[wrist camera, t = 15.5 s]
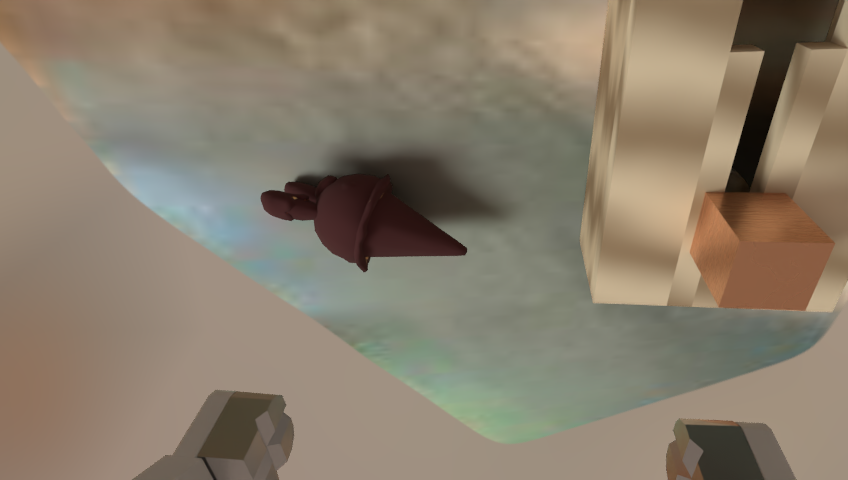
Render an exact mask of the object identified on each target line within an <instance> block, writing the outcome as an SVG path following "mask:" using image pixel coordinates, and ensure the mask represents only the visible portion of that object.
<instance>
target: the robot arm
mask: <svg viewBox="0 0 848 480" xmlns="http://www.w3.org/2000/svg"><path fill="white" fill-rule="evenodd" d="M285 407H286V404H285V401H284V399H283V396H282V395H273V394H261V393H249V392H238V391H224V390H215V391H214V392H213V393H211V394H210V395H209V396H208V398H207V399H206V401H205V403H204V404H203V406H202V407H201V409H200V411H199V412H198V414H197V416H196V417H195V419H194V420H193V422H192V424H191V426H190V427H189V429H188V430H187V432H186V434H185V435H184V437H183V439H182V440H181V442H180V443H179V445H178V447H177V448H176V450H175V452H174V453H173V455H165V456H164V457H163V458H161V459H160V460H158V461H157V462H156V463H154V464H153V465H152V466H150V467H149V468H147V469H146V470H145V471H143V472H142V473H141V474H139V475H138V476H136V477H135V478H134V479H132V480H279V477H278V474H277V470H278V469H279V468H280V467H281V466H283V465H284V464H285V463H286V462H287V461H288V458H289V455H290V453H291V450H292V445H293V439H294V428H293V423H292V420H291V418H290V417H289V416H288V415H286V414H285V413H284V412H283V411H284V409H285ZM673 431H674V435H675V438H676V440H675V441H673V442H672V443H670V444H669V446H668V450H667V454H666V471H667V477H668V480H796V478H795V476H794V474H793V472H792V470H791V468H790V466H789V464H788V462H787V460H786V458H785V456H784V454H783V452H782V450H781V448H780V446H779V444H778V442H777V440H776V438H775V436H774V434H773V432H772V430H771V429H770V428H769V427H768V426H767V425H766V424H763V423H746V422H745V423H744V422H733V421H721V420H700V419H678V420H677V421H676V423H675V426H674V429H673Z"/></svg>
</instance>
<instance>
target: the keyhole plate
mask: <svg viewBox="0 0 848 480" xmlns="http://www.w3.org/2000/svg"><path fill="white" fill-rule="evenodd" d="M742 3H743V0H609V2H608V10H607V18H606V27H605V35H604V43H603V51H602V60H601V68H600V76H599V85H598V93H597V101H596V109H595V118H594V126H593V134H592V143H591V151H590V159H589V167H588V176H587V184H586V192H585V201H584V209H583V217H582V226H581V234H580V244H581V249H582V254H583V258H584V263H585V267H586V272H587V277H588V281H589V286H590V290H591V295H592V300H593V303H610V304H636V305H662V306H687V307H713V308H723V307H718V305H717V303H716V301H715V299H714V297H713V296H712V294H711V292H710V290H709V288H708V286H707V284H706V282H705V281H704V279H703V277H702V275H701V273H700V271H699V269H698V267H697V266H696V264H695V262H694V260H693V258H692V256H691V254H690V249H691V245H692V241H693V238H694V234H695V230H696V226H697V222H698V219H699V215H700V211H701V207H702V204H703V200H704V196H705V192H725V189H726V185H727V182H728V178H729V175H730V171H731V168H732V164H733V161H734V157H735V154H736V150H737V147H738V143H739V140H740V136H741V133H742V129H743V126H744V122H745V118H746V115H747V111H748V108H749V104H750V101H751V97H752V94H753V90H754V87H755V83H756V80H757V76H758V73H759V69H760V66H761V62H762V59H763V55H764V52H765V51H763V50H762V49H760V48H758V47H756V46H754V45H752V44H746V45H732V43H733V39H734V35H735V31H736V27H737V23H738V19H739V15H740V11H741V7H742ZM749 193H786V194H787V195H788V196H789V197H790V198H791V199H792V200H793V201H794V202H795V203H796V204H797V205H798V206H799V207H800V208H801V209H802V210H803V211H804V212H805V213H806V214H807V215H808V216H809V217H810V218H811V219H812V220H813V221H814V222H815V223H816V224H817V225H818V226H819V227H820V228H821V229H822V230H823V231H824V232H825V233H826V234H827V235H828V236H829V237H830V238H831V239H832V240H833V241H834V242H835V246H834V248H833V250H832V252H831V255H830V257H829V259H828V261H827V263H826V266H825V268H824V270H823V272H822V275H821V277H820V279H819V281H818V284H817V286H816V288H815V290H814V293H813V295H812V297H811V299H810V301H809V304H808V306H807V308H806V310H805V311H816V312H833V309H834V307H835V305H836V303H837V301H838V299H839V297H840V295H841V293H842V291H843V289H844V287H845V285H846V283H847V280H848V0H839V2H838V5H837V8H836V11H835V14H834V17H833V20H832V22H831V25H830V28H829V31H828V34H827V37H826V40H825V42H804V43H796V46H795V49H794V52H793V55H792V59H791V62H790V65H789V68H788V71H787V74H786V78H785V81H784V84H783V87H782V90H781V94H780V97H779V100H778V103H777V106H776V109H775V113H774V116H773V119H772V122H771V125H770V128H769V132H768V135H767V138H766V141H765V144H764V147H763V151H762V154H761V157H760V160H759V163H758V166H757V170H756V173H755V176H754V179H753V182H752V185H751V189H750V192H749ZM739 309H748V308H739ZM764 310H772V309H764ZM790 311H797V310H790Z"/></svg>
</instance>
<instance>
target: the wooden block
mask: <svg viewBox="0 0 848 480" xmlns="http://www.w3.org/2000/svg"><path fill="white" fill-rule="evenodd" d="M749 192H750V190H749V186H748V184H747V182H746V181H745V180H744V179H743V178H742V176H741V175H740V174H739V173H738V172H737V171H736V170H734V169H732V168H731V171H730V175H729V178H728V182H727V185H726V189H725V192H705V196H704V200H703V204H702V207H701V211H700V215H699V219H698V222H697V226H696V230H695V234H694V238H693V241H692V245H691V249H690V254H691V256H692V258H693V260H694V262H695V264H696V266H697V267H698V269H699V271H700V273H701V275H702V277H703V279H704V281H705V282H706V284H707V286H708V288H709V290H710V292H711V294H712V296H713V297H714V299H715V301H716V303H717V305H718V307H723V308H748V309H772V310H797V311H805V310H806V308H807V306H808V304H809V301H810V299H811V297H812V295H813V293H814V290H815V288H816V286H817V284H818V281H819V279H820V277H821V275H822V272H823V270H824V268H825V266H826V263H827V261H828V259H829V257H830V255H831V252H832V250H833V248H834V246H835V242H834V241H833V240H832V239H831V238H830V237H829V236H828V235H827V234H826V233H825V232H824V231H823V230H822V229H821V228H820V227H819V226H818V225H817V224H816V223H815V222H814V221H813V220H812V219H811V218H810V217H809V216H808V215H807V214H806V213H805V212H804V211H803V210H802V209H801V208H800V207H799V206H798V205H797V204H796V203H795V202H794V201H793V200H792V199H791V198H790V197H789V196H788V195H787V194H786V193H749Z"/></svg>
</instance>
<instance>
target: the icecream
mask: <svg viewBox="0 0 848 480" xmlns="http://www.w3.org/2000/svg"><path fill="white" fill-rule="evenodd" d="M284 190H285V192H282V191H275V190H269V191H266V192H263V193H262V195H261V202H262V204H263V207H264V210H265V211H266V212H268V213H269V214H270V215H272V216H275V217H278V218H281V219H284V220H289V221H292V220H293V219H296V220H302V221H303V220H314V226H315V232H316V233H317V235H318V237H319V239H320V240H321V242H322V244H323V245H324V246H325V247H327V248H328V249H329V250H330V251H331V252H332V253H333V254H335V255H337V256H339V257H341V258H343V259H345V260H347V261H348V262H350V263H356V264H357V266H358V267H359V268H360V269H361V270H362V271H363V272H366V271H367V270H368V263H369V261H370V257H398V256H461V255H465V254H466V253H467V248H466V247H465V246H463V245H462V244H461V243H460V242H458V241H457V240H455V239H454V238H452V237H451V236H450V235H448V234H447V233H445V232H444V231H442V230H441V229H440V228H438V227H437V226H435V225H434V224H433V223H431V222H430V221H429V220H427V219H426V218H424V217H423V216H422V215H420V214H419V213H418V212H416V211H415V210H413V209H412V208H411V207H409V206H408V205H406V204H405V203H404V202H402V201H401V200H400V199H398V198H397V197H395V196H394V195H393V194H391V193H392V184H391V182H390V176H389V174H387V175H386V176H385V177H384V178H382V179H380V178H378V177H377V176H372V175H363V174H354V175H347V176H343V177H340V178H338V179H337V178H336V177H334V176H329V175H328V176H327V177H326V178H324V179H323V180H322V181H320V182H319V184H318V186H317V188H316V187H314V186H312V185H309V184H305V183H300V182H288V183H286V185H285V189H284Z"/></svg>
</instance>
